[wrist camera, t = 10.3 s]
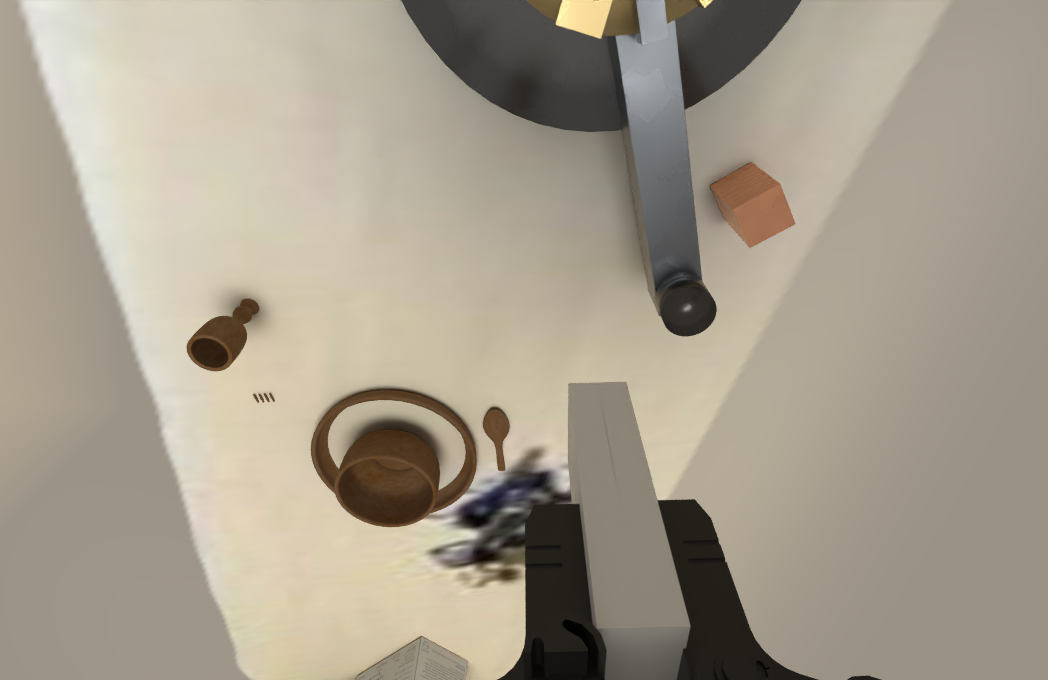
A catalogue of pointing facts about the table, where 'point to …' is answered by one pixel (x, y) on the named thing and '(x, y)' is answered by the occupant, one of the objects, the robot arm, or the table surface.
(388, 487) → the place setting
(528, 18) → the base
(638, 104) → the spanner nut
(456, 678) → the light bulb box
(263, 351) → the table surface
